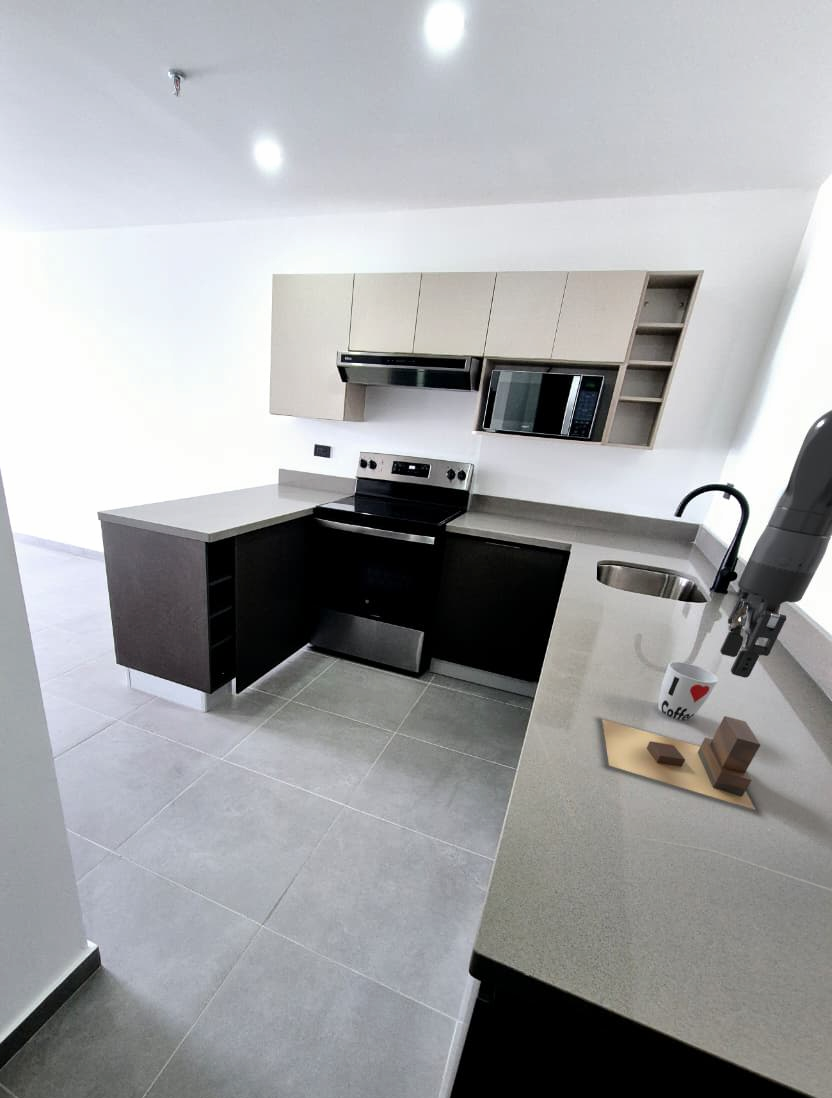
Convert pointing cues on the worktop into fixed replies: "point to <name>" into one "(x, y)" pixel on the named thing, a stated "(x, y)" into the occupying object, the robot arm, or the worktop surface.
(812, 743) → the worktop surface
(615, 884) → the worktop surface
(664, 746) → the small brown wooden tile
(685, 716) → the cup
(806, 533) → the robot arm
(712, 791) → the board
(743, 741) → the stepped wooden block
